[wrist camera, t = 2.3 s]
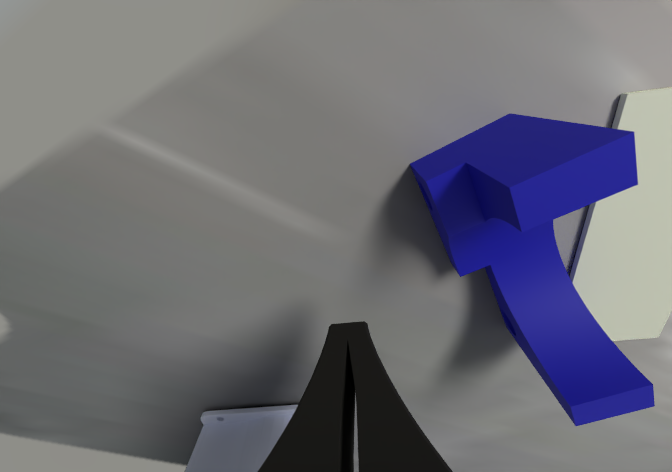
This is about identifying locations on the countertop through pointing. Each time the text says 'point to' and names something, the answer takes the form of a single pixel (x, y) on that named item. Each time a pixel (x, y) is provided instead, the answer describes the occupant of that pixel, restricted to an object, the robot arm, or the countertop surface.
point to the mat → (632, 230)
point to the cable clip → (537, 245)
